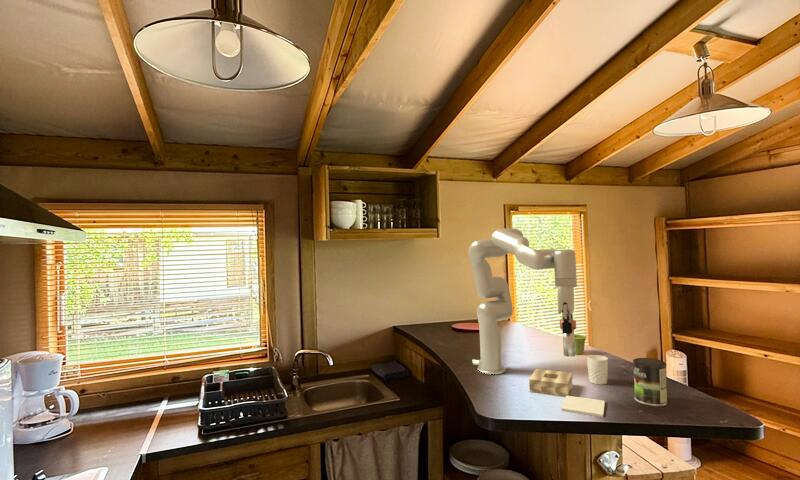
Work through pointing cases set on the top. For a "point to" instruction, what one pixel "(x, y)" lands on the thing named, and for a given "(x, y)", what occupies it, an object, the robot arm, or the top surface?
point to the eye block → (551, 382)
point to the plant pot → (579, 344)
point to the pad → (584, 406)
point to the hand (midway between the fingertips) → (568, 331)
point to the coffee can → (650, 381)
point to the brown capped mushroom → (569, 341)
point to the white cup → (597, 369)
